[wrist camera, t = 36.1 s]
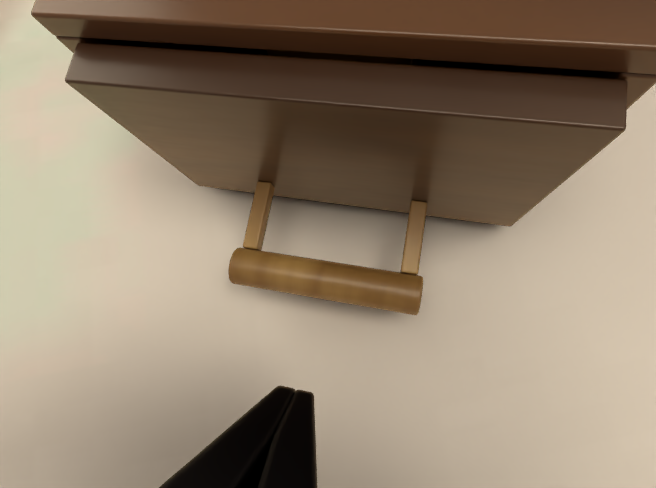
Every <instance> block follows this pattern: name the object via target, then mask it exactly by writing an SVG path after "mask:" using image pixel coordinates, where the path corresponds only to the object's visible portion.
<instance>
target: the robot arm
mask: <svg viewBox="0 0 656 488" xmlns="http://www.w3.org/2000/svg"><path fill="white" fill-rule="evenodd" d="M159 488H317V467H316V441H315V414H314V395H313V393H311V392H307V391H302V390H297V391H295V389H293V388H289V387H285V386H278V387H276V388H275V389H274V390H272V391H271V392H270V393H269V394H268V395H267V396H265V397H264V398H263V399H262V400H261V401H260V402H258V403H257V404H256V405H255V406H254V407H253V408H251V409H250V410H249V411H248V412H247V413H246V414H244V415H243V416H242V417H241V418H240V419H239V420H237V421H236V422H235V423H234V424H233V425H232V426H230V427H229V428H228V429H227V430H226V431H225V432H223V433H222V434H221V435H220V436H219V437H218V438H216V439H215V440H214V441H213V442H212V443H211V444H209V445H208V446H207V447H206V448H205V449H204V450H202V451H201V452H200V453H199V454H198V455H197V456H195V457H194V458H193V459H192V460H191V461H190V462H188V463H187V464H186V465H185V466H184V467H183V468H181V469H180V470H179V471H178V472H177V473H175V474H174V475H173V476H172V477H171V478H170V479H168V480H167V481H166V482H165V483H164V484H163V485H161V486H160V487H159Z"/></svg>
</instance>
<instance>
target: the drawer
mask: <svg viewBox="0 0 656 488" xmlns="http://www.w3.org/2000/svg"><path fill="white" fill-rule="evenodd" d="M148 43H149V44H150V45H151V46H152V48H151V47H136V46H121V45H106V44H92V43H78V44H77V45H76V48H75V51H74V54H73V57H72V60H71V63H70V66H69V69H68V72H67V75H66V78H65V81H66V83H68V84H69V85H70V86H71V87H73V88H74V89H75V90H77V91H78V92H79V93H80V94H82V95H83V96H84V97H86V98H87V99H88V100H89V101H91V102H92V103H93V104H95V105H96V106H97V107H98V108H100V109H101V110H102V111H104V112H105V113H106V114H107V115H109V116H110V117H111V118H112V119H114V120H115V121H116V122H118V123H119V124H120V125H121V126H123V127H124V128H125V129H127V130H128V131H129V132H130V133H132V134H133V135H134V136H136V137H137V138H138V139H139V140H141V141H142V142H143V143H145V144H146V145H147V146H148V147H150V148H151V149H152V150H154V151H155V152H156V153H157V154H159V155H160V156H161V157H162V158H164V159H165V160H166V161H168V162H169V163H170V164H171V165H173V166H174V167H175V168H177V169H178V170H179V171H180V172H182V173H183V174H184V175H186V176H187V177H188V178H189V179H191V180H192V181H193V182H195V183H196V184H197V185H199V186H205V187H213V188H221V189H228V190H236V191H244V192H251V193H255V194H254V198H253V203H252V207H251V212H250V216H249V221H248V225H247V230H246V234H245V239H244V243H243V247H244V248H237V249H236V250H235V251H234V252H233V254H232V257H231V260H230V264H229V279H230V281H231V282H232V283H234V284H239V285H245V286H250V287H256V288H262V289H268V290H273V291H279V292H285V293H291V294H296V295H302V296H308V297H314V298H320V299H325V300H331V301H337V302H343V303H348V304H354V305H360V306H366V307H371V308H377V309H383V310H389V311H394V312H400V313H406V314H412V315H417V314H418V312H419V308H420V303H421V296H422V289H423V277H422V276H418V275H417V274H418V269H419V262H420V255H421V247H422V240H423V233H424V226H425V218H426V215H427V216H435V217H443V218H450V219H458V220H466V221H473V222H481V223H489V224H496V225H504V226H512V225H513V224H514V223H515V222H517V221H518V220H519V219H520V218H521V217H523V216H524V215H525V214H526V213H527V212H528V211H530V210H531V209H532V208H533V207H534V206H536V205H537V204H538V203H539V202H540V201H542V200H543V199H544V198H545V197H546V196H548V195H549V194H550V193H551V192H552V191H553V190H555V189H556V188H557V187H558V186H559V185H561V184H562V183H563V182H564V181H565V180H567V179H568V178H569V177H570V176H571V175H573V174H574V173H575V172H576V171H577V170H578V169H580V168H581V167H582V166H583V165H584V164H586V163H587V162H588V161H589V160H590V159H592V158H593V157H594V156H595V155H596V154H598V153H599V152H600V151H601V150H602V149H603V148H605V147H606V146H607V145H608V144H609V143H611V142H612V141H613V140H614V139H615V138H617V137H618V136H619V135H620V134H621V133H623V132H624V131H625V129H626V109H627V85H628V81H627V80H625V79H611V78H596V77H581V76H566V75H560V74H561V72H562V71H563V70H564V69H559V68H543V67H528V66H512V65H497V64H482V63H466V62H451V61H435V60H420V59H418V60H417V65H403V64H388V63H373V62H359V61H344V60H329V59H314V58H299V57H284V56H270V55H268V53H267V51H266V49H250V48H235V47H219V46H204V45H188V44H173V43H158V42H148ZM273 195H274V196H282V197H290V198H297V199H305V200H313V201H320V202H328V203H335V204H343V205H351V206H358V207H366V208H374V209H381V210H389V211H397V212H404V213H409V217H408V224H407V231H406V237H405V244H404V251H403V258H402V265H401V273H399V272H393V271H386V270H380V269H374V268H367V267H361V266H355V265H348V264H342V263H335V262H329V261H323V260H316V259H310V258H303V257H297V256H291V255H284V254H278V253H272V252H265V251H261V249H262V245H263V240H264V235H265V231H266V226H267V221H268V217H269V212H270V207H271V203H272V198H273Z"/></svg>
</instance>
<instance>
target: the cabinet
mask: <svg viewBox="0 0 656 488" xmlns="http://www.w3.org/2000/svg"><path fill="white" fill-rule="evenodd" d="M31 15H32V16H33V17H34V18H35V19H36V20H37V21H38V22H40V23H41V24H42V25H43V26H44V27H45V28H46V29H47V30H49V31H50V32H51V33H52V34H53V35H55V36H56V37H57V39H58V40H59V41H61V42H62V43H63V44H64V45H65V46H66V47H67V48H68V49H70V50H71V51H72V52H73V53H74V51H75V48H76V45H77V44H78V43H92V44H106V45H121V46H136V47H151V48H152V46H151V45H150V44H149V43H148V42H158V43H173V44H188V45H204V46H219V47H235V48H250V49H266V50H281V51H296V52H312V53H327V54H343V55H358V56H374V57H389V58H404V59H420V60H435V61H451V62H466V63H482V64H497V65H512V66H528V67H543V68H559V69H564V70H563V71H562V72H561V74H560V75H566V76H581V77H596V78H611V79H625V80H627V81H628V85H627V109H628V108H629V107H630V106H631V105H632V104H633V103H634V102H636V101H637V100H638V99H639V98H640V97H641V96H642V95H643V94H644V93H645V92H646V91H648V90H649V89H650V88H651V87H652V86H653V85H654V84H655V83H656V0H35V3H34V6H33V9H32V11H31ZM627 109H626V110H627Z"/></svg>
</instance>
